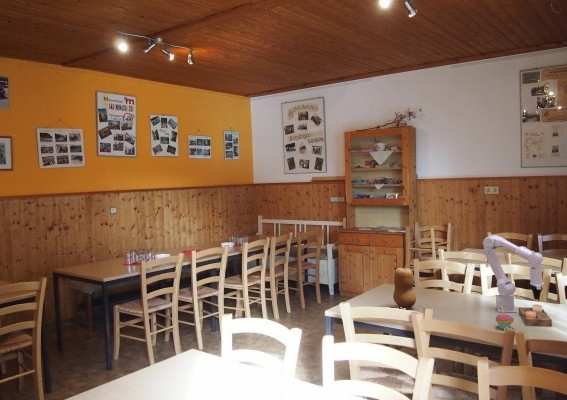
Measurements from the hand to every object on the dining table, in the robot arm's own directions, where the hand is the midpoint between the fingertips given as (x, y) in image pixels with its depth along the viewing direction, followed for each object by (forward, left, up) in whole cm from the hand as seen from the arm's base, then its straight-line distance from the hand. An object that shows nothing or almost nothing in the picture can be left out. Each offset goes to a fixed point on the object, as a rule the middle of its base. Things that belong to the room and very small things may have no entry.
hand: (536, 299), depth 260 cm
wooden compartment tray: (-3, -7, -9) cm, 12 cm away
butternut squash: (-72, +7, -10) cm, 73 cm away
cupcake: (-20, -23, -10) cm, 32 cm away
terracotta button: (-5, -12, -9) cm, 16 cm away
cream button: (0, -2, -8) cm, 8 cm away
